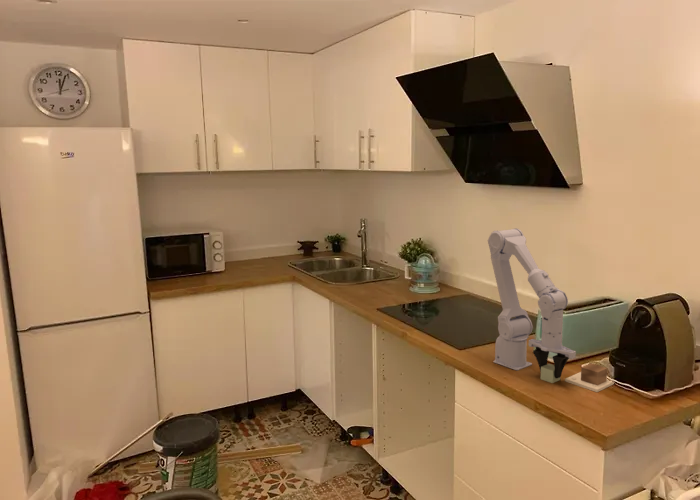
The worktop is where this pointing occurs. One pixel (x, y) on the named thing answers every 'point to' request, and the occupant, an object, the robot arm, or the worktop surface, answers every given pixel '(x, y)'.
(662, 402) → the worktop surface
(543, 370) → the sage brick
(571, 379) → the plate
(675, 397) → the worktop surface
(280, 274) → the worktop surface
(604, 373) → the walnut brick
